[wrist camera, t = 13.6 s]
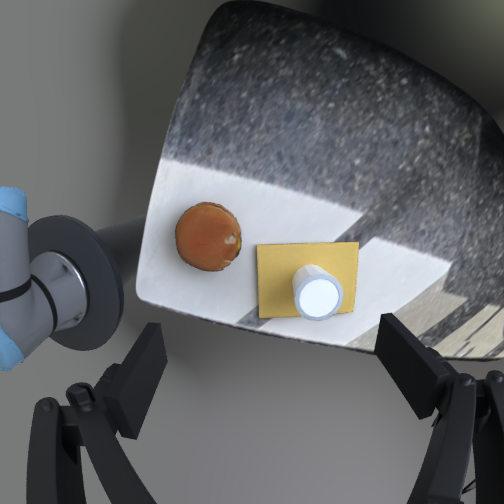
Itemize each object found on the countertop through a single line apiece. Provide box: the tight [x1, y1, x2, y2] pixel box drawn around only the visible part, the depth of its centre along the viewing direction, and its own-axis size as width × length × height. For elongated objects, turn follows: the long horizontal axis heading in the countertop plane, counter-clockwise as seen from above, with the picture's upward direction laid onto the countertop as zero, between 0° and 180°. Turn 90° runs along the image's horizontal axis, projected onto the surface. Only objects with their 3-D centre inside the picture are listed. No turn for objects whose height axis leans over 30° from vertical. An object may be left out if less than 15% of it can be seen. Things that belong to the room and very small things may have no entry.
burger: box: [175, 202, 241, 271], centre depth 40 cm, size 10×9×5 cm
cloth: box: [257, 242, 359, 318], centre depth 44 cm, size 16×12×1 cm
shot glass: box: [292, 264, 344, 321], centre depth 40 cm, size 7×7×7 cm
